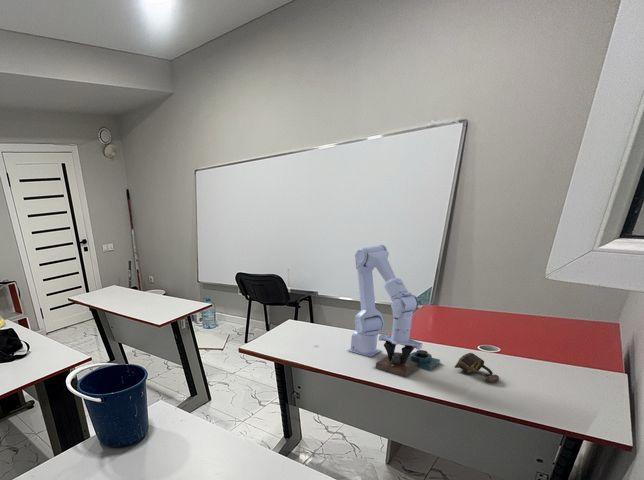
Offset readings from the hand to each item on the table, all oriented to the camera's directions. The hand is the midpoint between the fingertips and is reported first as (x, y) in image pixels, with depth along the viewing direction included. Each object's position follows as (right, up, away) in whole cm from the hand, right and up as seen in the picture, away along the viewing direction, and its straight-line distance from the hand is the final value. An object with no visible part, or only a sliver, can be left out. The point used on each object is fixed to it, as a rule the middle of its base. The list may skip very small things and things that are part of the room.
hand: (397, 361), depth 136 cm
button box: (+11, -1, +3) cm, 11 cm away
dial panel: (0, -3, +1) cm, 3 cm away
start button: (+10, +2, +2) cm, 11 cm away
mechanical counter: (+22, -5, -10) cm, 24 cm away
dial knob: (0, 0, 0) cm, 0 cm away
